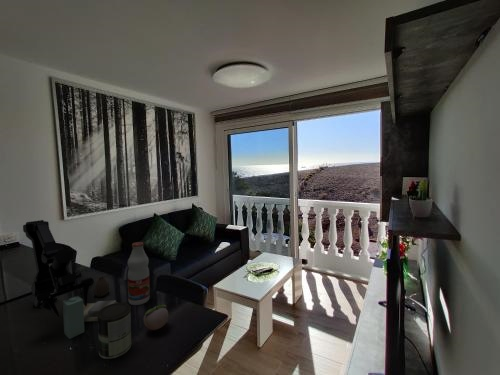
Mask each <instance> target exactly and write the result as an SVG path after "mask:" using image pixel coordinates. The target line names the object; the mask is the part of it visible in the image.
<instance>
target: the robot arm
mask: <svg viewBox="0 0 500 375" xmlns="http://www.w3.org/2000/svg"><path fill="white" fill-rule="evenodd" d="M22 231H23V233H25V236H26V238H28V240H30V241H31V245H32V252H33V256H34V261H35V267H36V273H35V275H34V277H33V282H32V284H31V288H30V289H31V294H33V295H34V296H35V298H34V301H33V303H34V305H33V306H32V307H33V308H41V309H42V308H44V309H46V310H48V311H49V312H50V313H52V314H53V315H54V316H55V317H56V318H59V317H60V314H59V311H58V308H57V306H56V304H55V302H56V301H57V300H58V298H57V297H60V296H63V295H66V294H68V293H72V292H74V291H78V290H79V291H80V298H81V299H83V304H84V305H85V306H87V304H88V293H89V291H90V290H91V289H92V287H94V285H95V280H94V278H92V277H87V278H84V279H81V281H80V283H79V284H76V282H77V281H78V279H80V278H82V273H81V270H80V269H77V270H74V271H73V272H72V273H71V272H70V271H69V269H68V268H69V266H70V264H71V262H72V260H73V258H74V254H73V252H71V251H70V250H67V249H65V248H64V247H63V246H62V245H61V244H59V243H57V242H56V240H55V238H54V236H53V234H52V231H51V229H50V224H49V221H45V220H44V219H39V220H33V221H27V222H25V224H23V225H22Z"/></svg>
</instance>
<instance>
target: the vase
mask: <svg viewBox="0 0 500 375" xmlns="http://www.w3.org/2000/svg"><path fill="white" fill-rule="evenodd" d="M110 287H111V286H110V283H109V281H108V280H107V279H106V278H105V276H100V277H98V279H97V280H96V281H95V282H94V284H93V294H94V295H95V296H96V297H98V298H101V297H104V296H106V295H107V294H108V293H109V291H110Z"/></svg>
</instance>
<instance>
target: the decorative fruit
mask: <svg viewBox="0 0 500 375" xmlns="http://www.w3.org/2000/svg"><path fill="white" fill-rule="evenodd" d="M167 307H168V306H167V305H166V304H160V305H155V306H153V308H149V309H148V310H147V311H145V313H144V316H143V324H144V326H145V327H146V328H147V329H148V330H150V331H157V330H159V329H161V328H163V327H164V326H165V325H166V323H167V322H168V319H169V311H168V310H167Z"/></svg>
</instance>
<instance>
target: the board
mask: <svg viewBox="0 0 500 375" xmlns="http://www.w3.org/2000/svg"><path fill="white" fill-rule="evenodd" d="M114 303H119V302H117V300H115V299H114V300H98V301H96V302H92V303H90V302H89V303H88V302H87V306H85V305H84V303H83V309H84V323H85V322H98V318H97V314H98V312H99V311H100V310H101V309H102V308H104V307H105V306H108V305H110V304H114Z"/></svg>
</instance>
